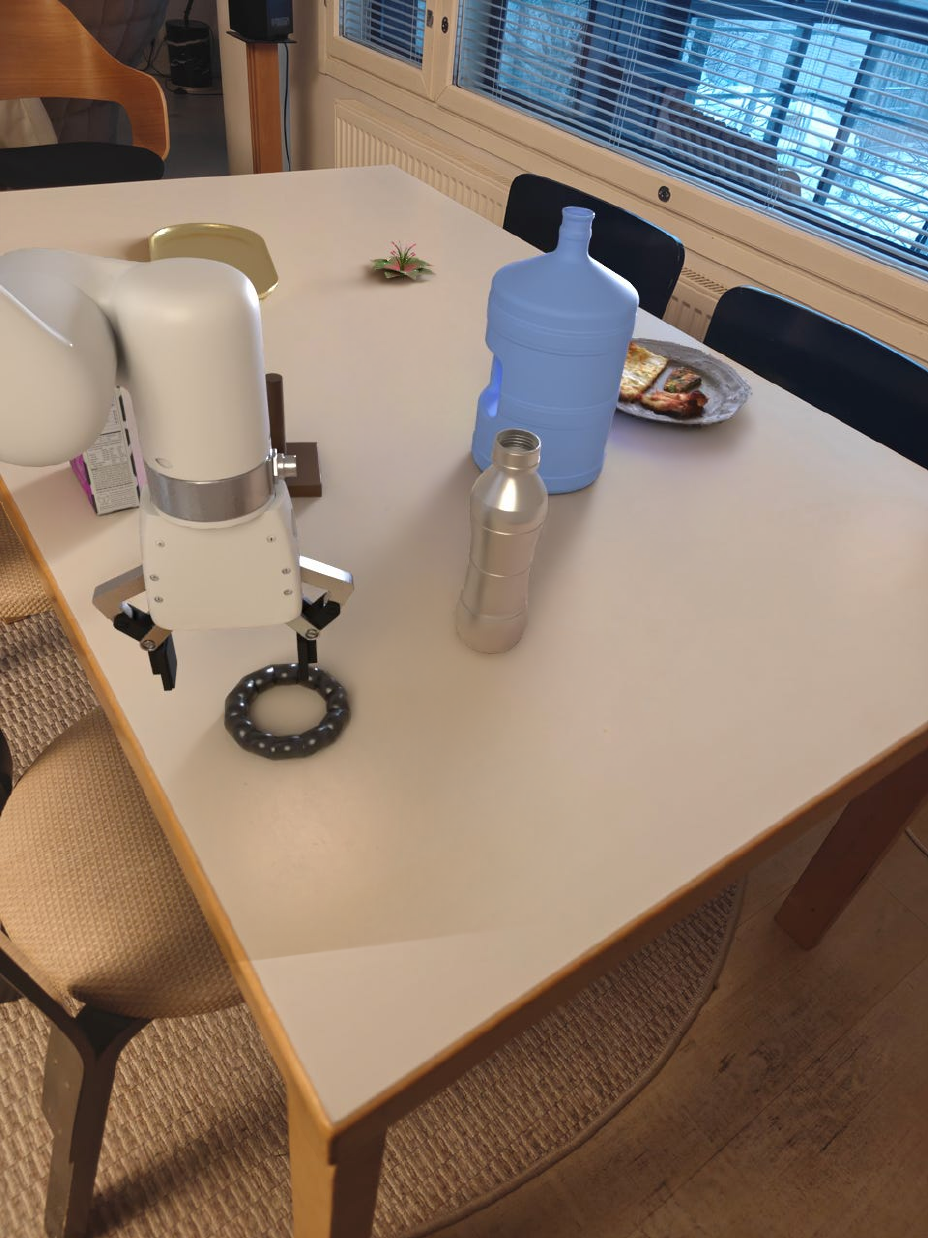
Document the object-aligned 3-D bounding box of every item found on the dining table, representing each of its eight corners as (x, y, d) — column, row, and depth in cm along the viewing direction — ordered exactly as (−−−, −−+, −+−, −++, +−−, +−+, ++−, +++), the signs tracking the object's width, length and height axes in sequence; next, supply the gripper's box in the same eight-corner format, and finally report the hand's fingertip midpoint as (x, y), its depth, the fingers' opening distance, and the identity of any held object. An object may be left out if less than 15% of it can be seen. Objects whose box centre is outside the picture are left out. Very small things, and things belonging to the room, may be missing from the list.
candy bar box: (66, 464, 92) (30, 314, 81) (114, 455, 94) (85, 307, 84) (94, 519, 85) (58, 363, 75) (145, 507, 88) (117, 354, 77)
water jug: (622, 458, 105) (682, 214, 86) (563, 514, 94) (618, 250, 76) (511, 416, 110) (546, 179, 92) (444, 465, 99) (468, 207, 81)
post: (235, 498, 90) (225, 397, 83) (236, 454, 97) (227, 357, 90) (321, 496, 92) (320, 398, 85) (317, 453, 99) (315, 358, 91)
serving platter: (258, 232, 154) (257, 222, 153) (287, 308, 129) (287, 298, 128) (147, 231, 149) (146, 222, 148) (156, 311, 124) (154, 300, 123)
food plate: (703, 455, 107) (711, 430, 105) (541, 395, 115) (545, 371, 113) (764, 388, 124) (772, 365, 121) (618, 340, 132) (623, 317, 130)
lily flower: (380, 286, 140) (381, 257, 137) (357, 260, 148) (357, 232, 145) (448, 282, 144) (450, 254, 141) (422, 257, 152) (423, 230, 149)
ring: (224, 769, 64) (221, 753, 63) (226, 678, 71) (225, 662, 70) (353, 759, 66) (354, 743, 64) (344, 671, 73) (344, 655, 72)
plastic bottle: (444, 653, 75) (466, 453, 62) (462, 606, 81) (486, 412, 68) (515, 670, 75) (552, 471, 62) (529, 621, 80) (566, 428, 67)
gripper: (347, 441, 57) (350, 631, 69) (71, 447, 54) (121, 646, 65) (357, 504, 52) (359, 699, 63) (50, 515, 49) (109, 719, 60)
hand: (238, 672), depth 64 cm, fingers open, 9 cm apart
